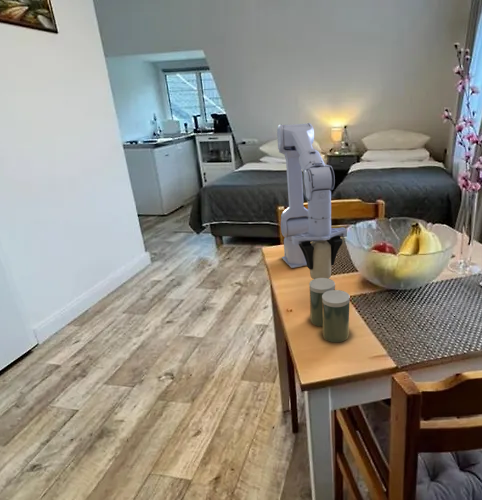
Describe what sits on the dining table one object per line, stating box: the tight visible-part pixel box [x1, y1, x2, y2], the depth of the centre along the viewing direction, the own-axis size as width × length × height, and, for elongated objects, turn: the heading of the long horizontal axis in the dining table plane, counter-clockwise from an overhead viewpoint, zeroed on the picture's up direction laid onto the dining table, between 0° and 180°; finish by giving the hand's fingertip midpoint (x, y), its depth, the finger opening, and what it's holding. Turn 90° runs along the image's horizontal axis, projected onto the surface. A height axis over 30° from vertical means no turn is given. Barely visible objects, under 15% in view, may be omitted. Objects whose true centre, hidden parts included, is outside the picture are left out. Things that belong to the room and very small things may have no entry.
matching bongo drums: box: [308, 278, 351, 343], centre depth 90 cm, size 13×6×10 cm, turn 23°
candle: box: [309, 240, 332, 280], centre depth 100 cm, size 6×6×10 cm
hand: (320, 266), depth 100 cm, fingers closed on candle, 5 cm apart
